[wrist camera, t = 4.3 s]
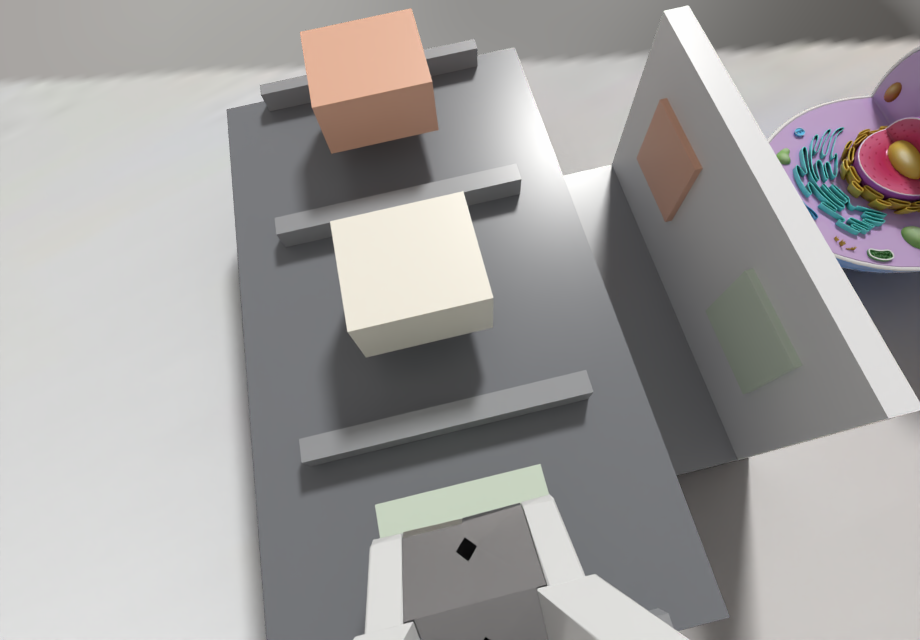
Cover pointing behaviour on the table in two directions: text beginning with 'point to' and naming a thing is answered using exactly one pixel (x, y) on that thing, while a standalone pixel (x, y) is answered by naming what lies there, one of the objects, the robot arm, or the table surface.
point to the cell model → (862, 171)
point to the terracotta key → (369, 81)
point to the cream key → (411, 275)
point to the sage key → (460, 500)
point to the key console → (541, 327)
